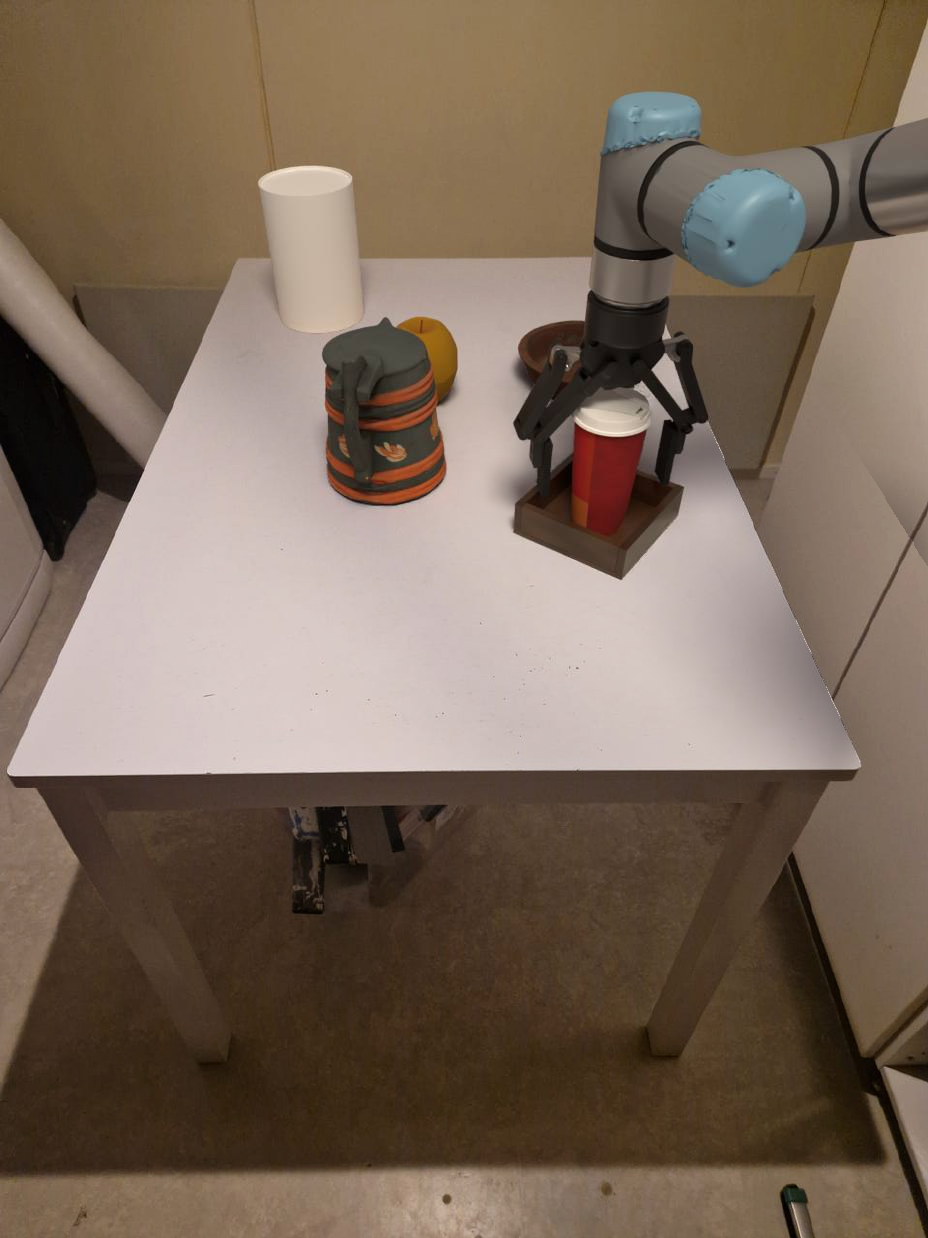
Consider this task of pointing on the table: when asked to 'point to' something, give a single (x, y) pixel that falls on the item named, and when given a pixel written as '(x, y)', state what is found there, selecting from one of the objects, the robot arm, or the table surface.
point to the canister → (313, 247)
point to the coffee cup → (607, 456)
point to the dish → (539, 341)
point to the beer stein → (381, 416)
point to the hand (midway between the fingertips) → (602, 483)
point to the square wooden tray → (609, 553)
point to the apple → (436, 350)
